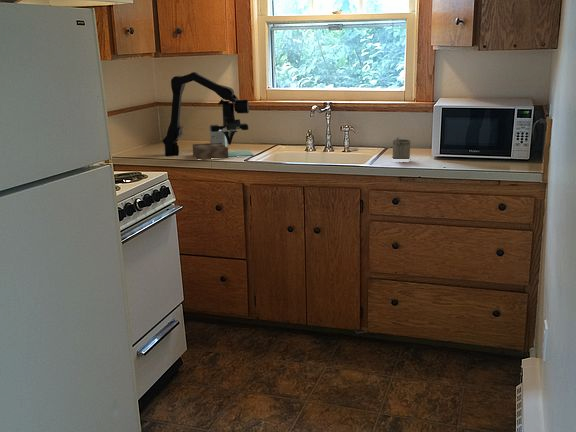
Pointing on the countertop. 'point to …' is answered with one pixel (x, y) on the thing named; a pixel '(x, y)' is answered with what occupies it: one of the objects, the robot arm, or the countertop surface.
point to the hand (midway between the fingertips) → (229, 144)
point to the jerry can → (401, 149)
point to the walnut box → (210, 151)
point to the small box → (218, 138)
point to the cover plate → (239, 153)
